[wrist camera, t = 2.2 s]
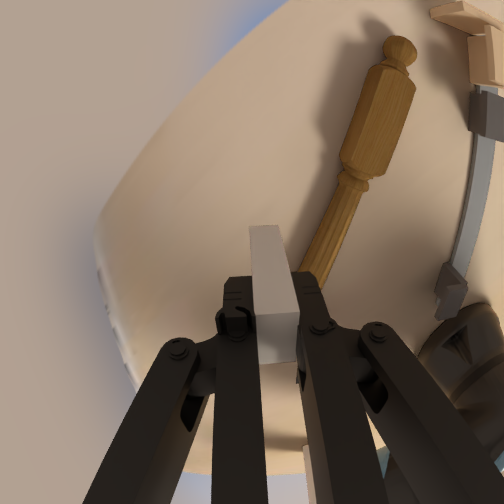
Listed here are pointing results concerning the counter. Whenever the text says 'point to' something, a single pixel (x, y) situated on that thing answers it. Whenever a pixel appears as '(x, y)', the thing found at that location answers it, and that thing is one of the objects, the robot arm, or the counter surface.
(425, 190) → the counter surface
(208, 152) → the counter surface
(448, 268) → the board
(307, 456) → the milk
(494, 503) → the robot arm
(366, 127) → the tap handle
